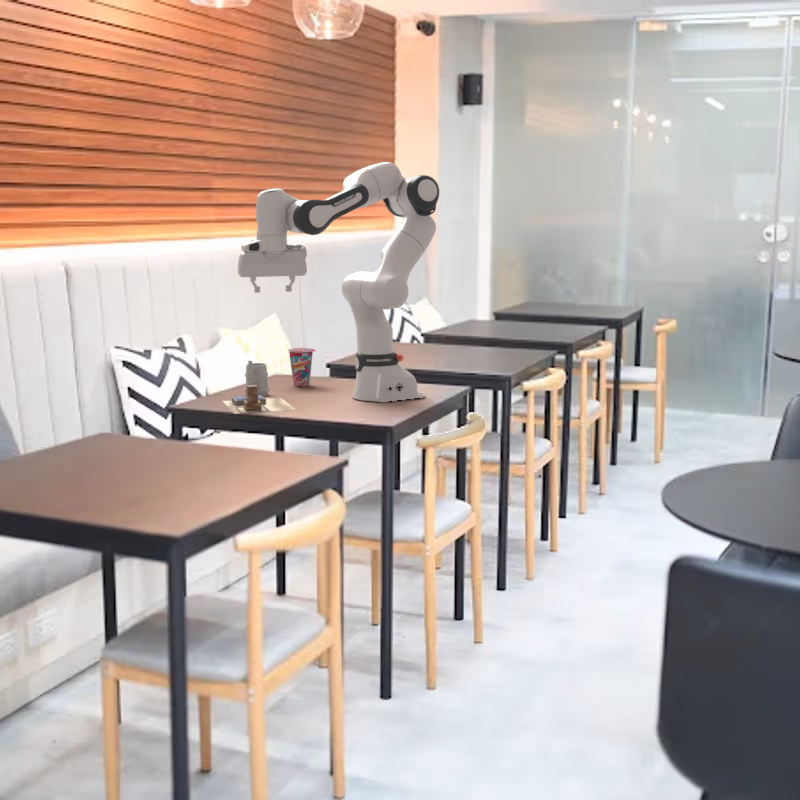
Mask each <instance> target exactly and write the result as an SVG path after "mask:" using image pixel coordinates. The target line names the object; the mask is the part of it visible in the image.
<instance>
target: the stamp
mask: <svg viewBox="0 0 800 800" xmlns="http://www.w3.org/2000/svg"><path fill="white" fill-rule="evenodd" d="M245 388H246V392H245V395H246V394H247V400H245V401H243V402H244V409H245V410H246V411H261V410H262V409H261V402H260V401H259V400H258V386H257V385H246V384H245Z"/></svg>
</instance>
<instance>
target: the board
mask: <svg viewBox="0 0 800 800" xmlns="http://www.w3.org/2000/svg"><path fill="white" fill-rule="evenodd" d="M245 400H247V396H246V395H241V396H240V395H239V396H238V395H237V396H231V400H222V403H224V405H225V406H226V407H227V408H228V409H229V410H230V411H231V412H232V413H233V414H234V415H236V414H237V415H238V414H251V413H252V414H253V413H255V414H256V413H266V412H268V413H269V412H284V411H296V410H297V408H295V407H293V405H291V404H290V403H288V402H287V401H286V400H285V399H283V398H282V397H279V396H278V397H265V396H264V397H263V396H262V395H258V400H259V401H260V402H261V409H262V410H261V411H246V410H245V409H244V402H243V401H245Z"/></svg>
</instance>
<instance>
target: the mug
mask: <svg viewBox="0 0 800 800" xmlns="http://www.w3.org/2000/svg"><path fill="white" fill-rule="evenodd" d="M267 370H268V368H267V364H266V363H264V362H254V363H253V360H248V361H247V364H246V365H245V374H244V377H245V386H246V385H257V386H258V395H262V396H264V397H268V396H269V392H270V388H269V383H268V377H269V373H268V371H267ZM244 392H245V396H247V394H246V387H245V388H244Z"/></svg>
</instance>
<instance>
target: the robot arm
mask: <svg viewBox="0 0 800 800" xmlns="http://www.w3.org/2000/svg"><path fill="white" fill-rule="evenodd" d="M439 198H440V186H439V184H438V182H437V181H436V179H434V178H433V177H432V176H430V175H424V174H418V175H415V176H412V177H409V178H408V177H407V178H405V177H404V176H403V175H402V172H401V170H400V168H399V167H398V166H397V165H396V164H395V163H393V162H391V161H384V162H380V163H376V164H372V165H368V166H366V167H363V168H361V169H358V170H356V171H354V172H353V173H351V174H350V175H348V176H347V177H345V178H344V180H343V183H342V191H340V192H337V193H336V194H333V195H332V196H330V197H328V198H326V199H308V200H307V199H306V200H305V199H303V200H302V199H299V198H296V197H294V196H293V195H290V194H288V193H287V192H286V191H284V189H282V188H281V187H279V188H269V189H264V190H262V191H260V192H259V193H258V195H257V197H256V206H255V207H256V208H255V220H256V224H257V230H256V238H255V239H252V240H250V241H247V242H244V243H242V244H241V246H240V249H241V251H242V252H241V253H240V254H239V256H238V262H237V274H238V276H239V277H241V278H249V279H250V282H251V284H252V286H253V292H254V293H257V294H258V293H261V286H260V285H257V283H256V281H257V278H263V277H264V278H265V277H266V278H267V277H268V278H269V277H274V278H275V277H288V279H289V280H290V281H289V282H288V285H285V292H288V293H289V292H292V290H293V288H292V287H293V285H294V282H295V281H296V277H300V276H301V277H302V276H303V277H305V276H306V275H307V273H308V272H307V271H308V270H307V267H308V266H307V260H306V259H307V256H308V255H307V254H308V252H307V251H308V250H307V248H306V246H303V244H288V240H287V239H288V232H291V233H295V234H296V233H297V234H305V235H310V236H315V235H316V236H317V235H319V234H321V233H323V232H325V231H326V229H327V228H328V227H329V226H330V225H331V224H332V222H334V221H335V220H337V219H338V218H341V217H343V216H344V215H346V214H348V213H351V212H353V211H355V210H357V209H362V208H366V207H368V206H371V205H374V204H376V203H378V202H380V201H382V202H383V203H384V204H385V208H386V209H387V210H388V212H389V213H390V214H391V215H393V216H395V217H399V218H402V220H401V223H400V224H399V227H398V228H397V229H396V230H395V232H394V233H393V234H392V236H391V237H390V238H389V240H388V241H387V243H386V244H384V247H383V248H382V249H381V252H380V257H381V260H382V261H381V263H380V266H379V267H378V269H377V270H375V271H365V270H361V271H360V270H359V271H356V272H352V273H350V274H348V275H347V276H345V278H343V279H344V280H343V281H342V284H341V293H342V296H343V297H344V299H345V300H346V301H347V303H348V304H349V306H350V309H351V312H352V315H353V318H354V323H355V328H356V353H355V370H356V377H355V383H354V384H355V386H354V390H353V393H352V399H355V400H358V401H366V402H377V403H388V402H389V401H392V402H398V401H397V400H402V401H407V400H406V399H411V400H415V399H414V398H420V399H424V398H426V396H425V393H424V391H422V390H420V389H418V382H417V380H416V378H415V376H414V375H413V374H412V373H411V372H410V371H408V370H407V369H406V368H404V367H403V366H402V365H401V364H400V363H399V362H402V361H403V360H404V355H402V354H401V353H396V352H394V349H393V347H394V344H393V343H394V342H393V340H394V337H393V335H394V333H393V332H394V331H393V327H392V324H391V323H390V322H389V321H388V319H387V317H386V315H385V312H384V310H386V311H387V310H393V309H397V308H401V307H402V306H403V305H405V303H406V302H407V300H408V297H409V286H408V280H409V277H410V274H411V273H412V271H413V269H414V268H415V266H416V264H417V263H418V261H419V260H420V259H421V257H422V256H423V254H424V253H425V251H426V250H427V249H428V248H429V245H430V243H431V242H432V240H433V238H434V236H435V233H436V230H437V225H436V222H435V220H434V219H433V218H432V216H431V215H432V214H434V213H435V212H436V210H437V203H438V201H439ZM423 397H424V398H423ZM389 403H390V402H389Z"/></svg>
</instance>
